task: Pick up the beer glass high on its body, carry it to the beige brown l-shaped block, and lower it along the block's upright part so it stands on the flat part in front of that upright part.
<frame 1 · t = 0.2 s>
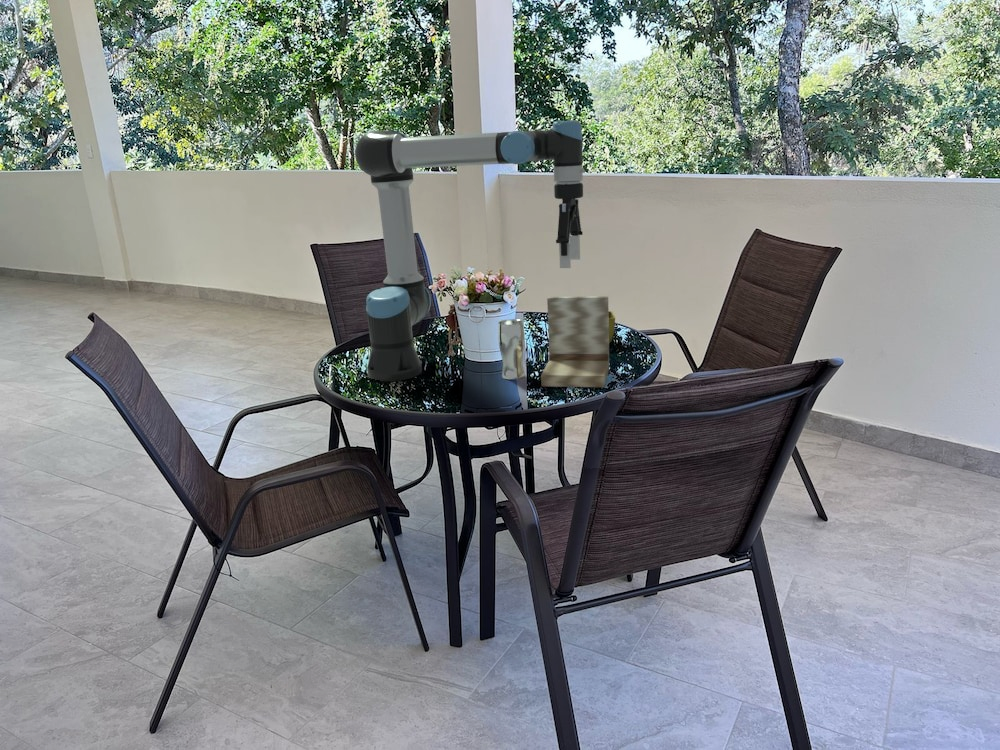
hand: (570, 263, 206), 28 cm above the table, fingers open, 13 cm apart
flower pot: (599, 344, 231), on the table
beige brown l-shaped block: (575, 378, 200), on the table
beer glass: (513, 377, 205), on the table
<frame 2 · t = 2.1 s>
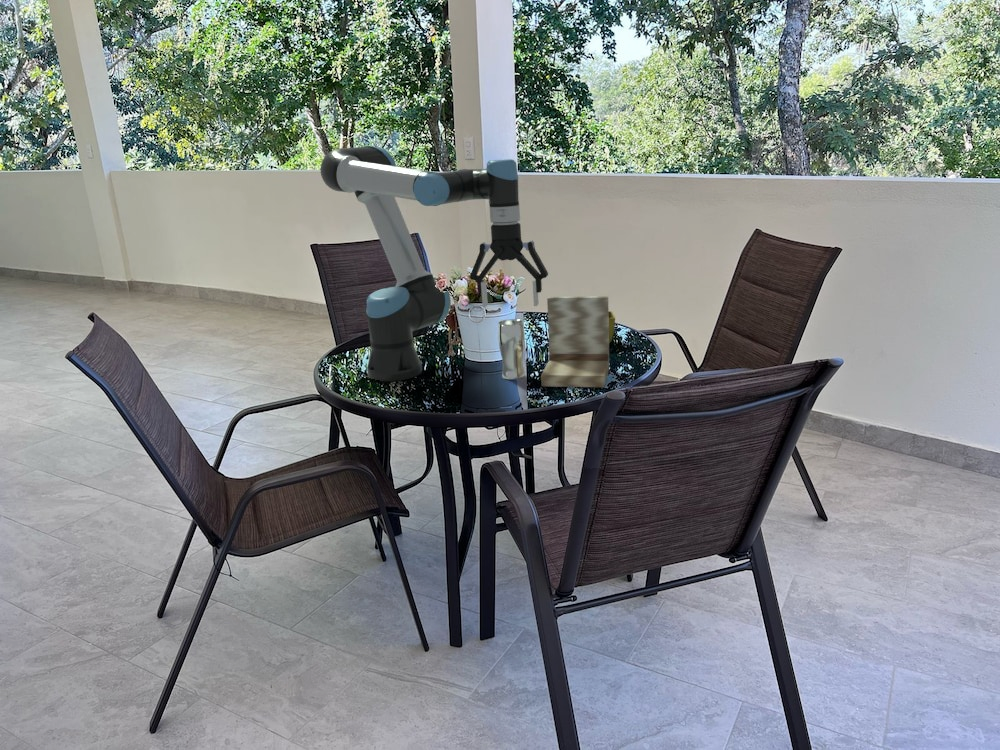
hand: (510, 305, 199), 19 cm above the table, fingers open, 13 cm apart
nothing on the table moved.
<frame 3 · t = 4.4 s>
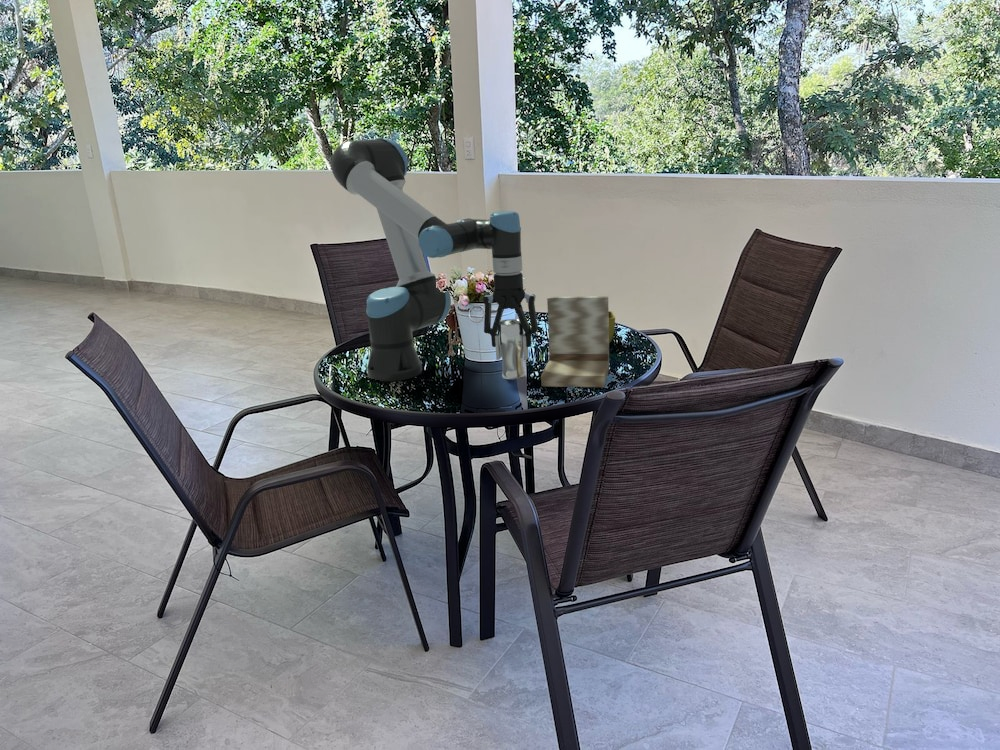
hand: (512, 358, 203), 5 cm above the table, fingers closed on beer glass, 7 cm apart
beer glass: (513, 376, 205), on the table, touching gripper
everything else where it was.
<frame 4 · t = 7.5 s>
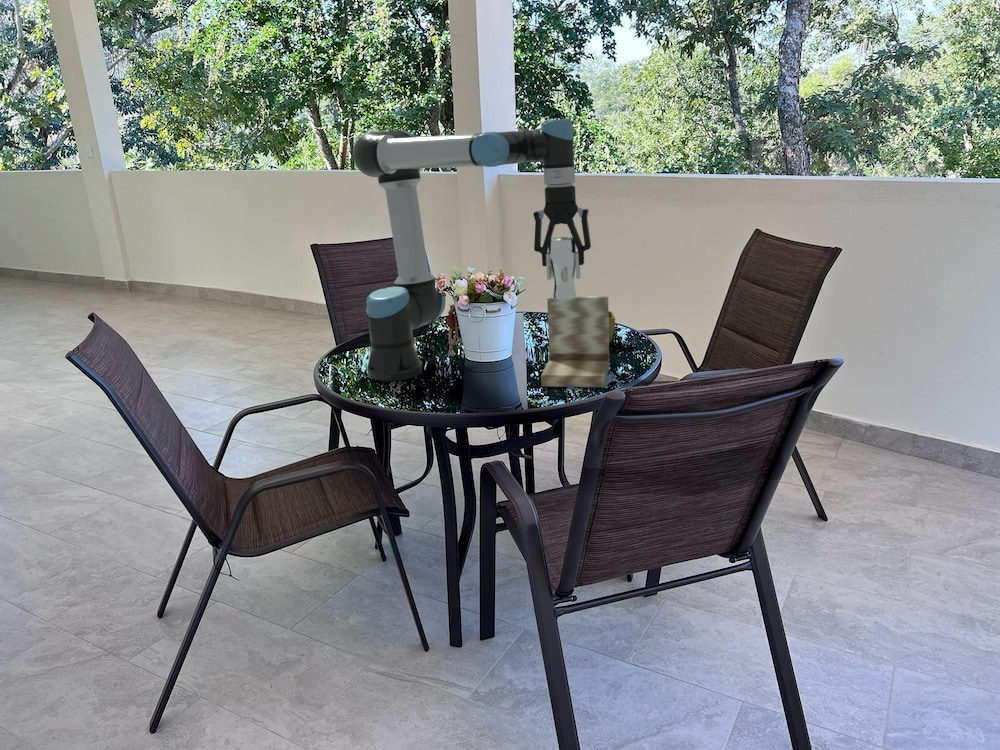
hand: (563, 278, 194), 26 cm above the table, fingers closed on beer glass, 7 cm apart
beer glass: (564, 298, 196), point 21 cm above the table, touching gripper
everything else where it was.
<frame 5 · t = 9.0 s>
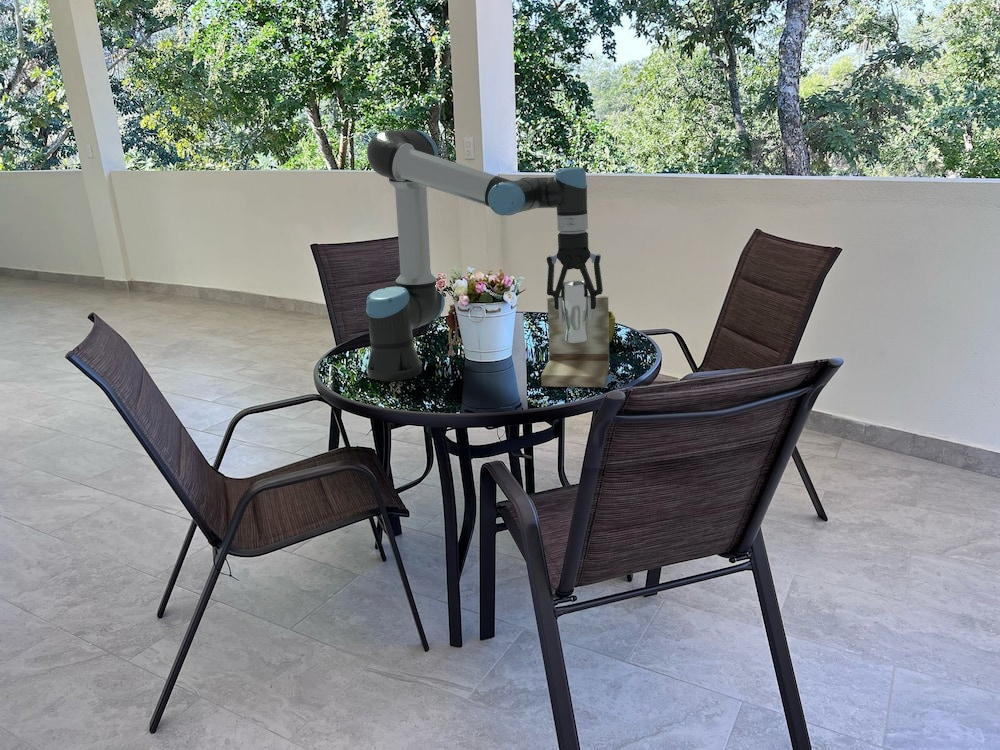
hand: (575, 321, 197), 15 cm above the table, fingers closed on beer glass, 7 cm apart
beer glass: (576, 340, 199), point 10 cm above the table, touching gripper
everything else where it was.
when the fingers open (9 cm above the table, at t = 10.5 s): beer glass stays where it is, resting on beige brown l-shaped block.
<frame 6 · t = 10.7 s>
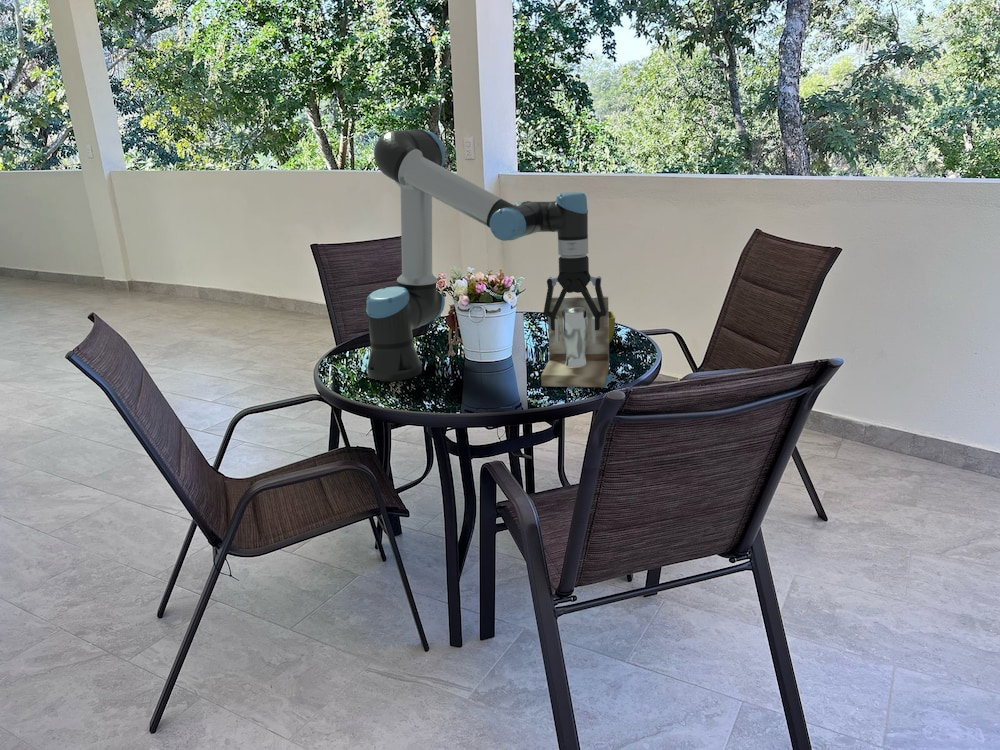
hand: (575, 342, 199), 9 cm above the table, fingers open, 9 cm apart
beer glass: (576, 366, 201), point 3 cm above the table, touching beige brown l-shaped block
everything else where it was.
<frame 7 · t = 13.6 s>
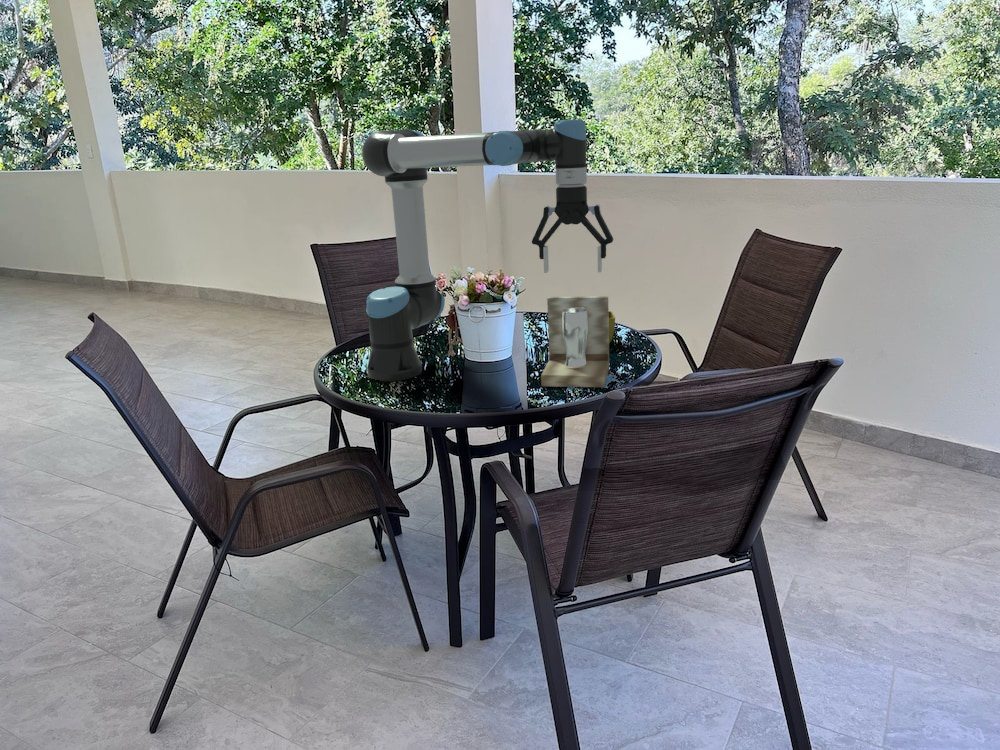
hand: (572, 271, 193), 28 cm above the table, fingers open, 13 cm apart
nothing on the table moved.
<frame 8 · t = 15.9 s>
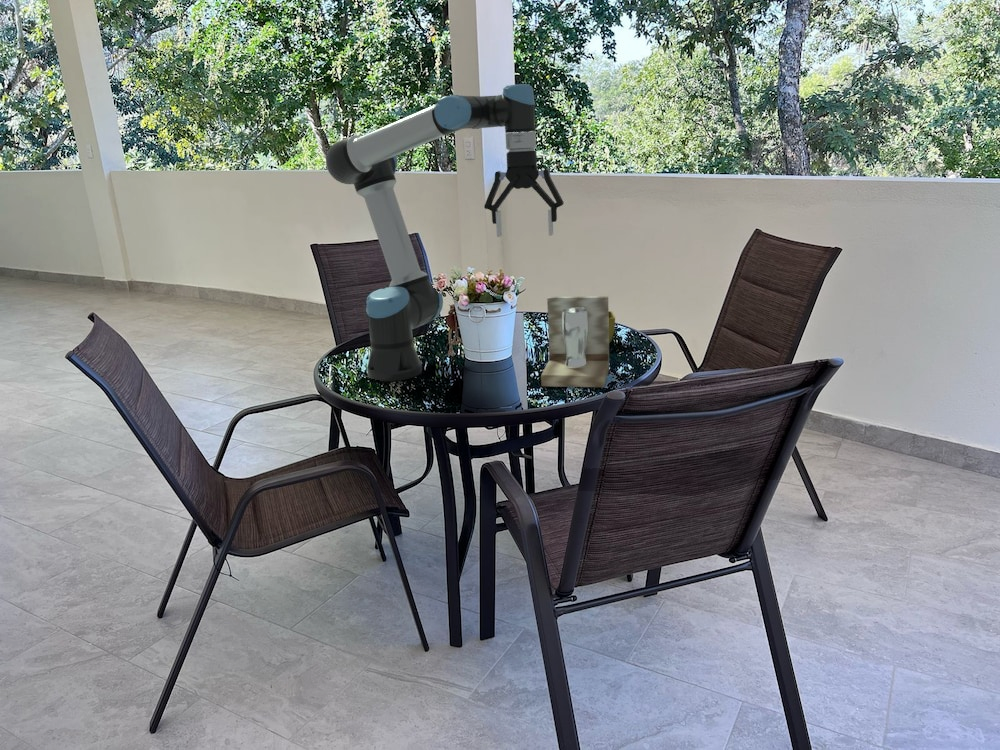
hand: (525, 235, 198), 37 cm above the table, fingers open, 13 cm apart
nothing on the table moved.
at the end: beer glass inside the target area on the beige brown l-shaped block (0.0 cm from its centre), point 2.8 cm above the beige brown l-shaped block's base; beer glass tilted 0°; the gripper is holding nothing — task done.
